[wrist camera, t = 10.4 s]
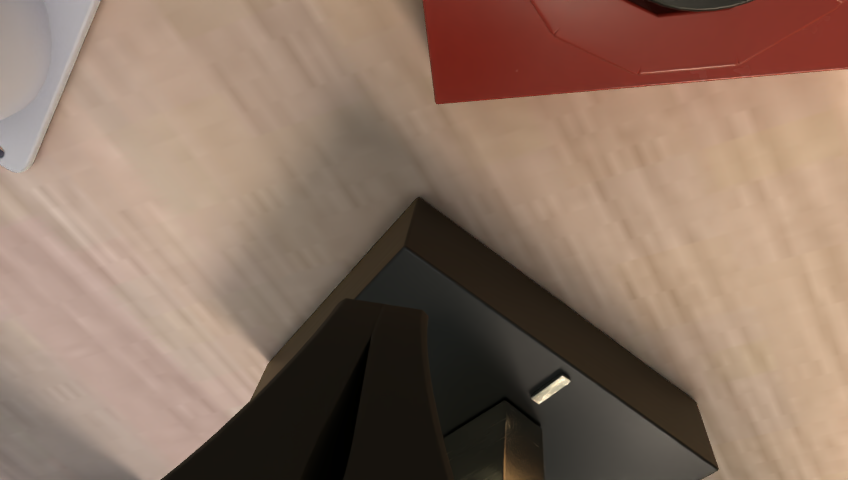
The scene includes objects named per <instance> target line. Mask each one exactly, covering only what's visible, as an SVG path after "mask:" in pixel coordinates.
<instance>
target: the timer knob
mask: <svg viewBox="0 0 848 480" xmlns="http://www.w3.org/2000/svg"><path fill="white" fill-rule="evenodd" d="M443 439H444V443H445V447H446V451H447V455H448V458H449V462H450V465H451V469H452V472H453V476H454V480H545V468H544V449H543V430H542V428H540V427H539V426H538V425H537V424H535V423H534V422H533V421H532V420H530V419H529V418H528V417H526V416H525V415H524V414H523V413H521V412H520V411H519V410H518V409H516V408H515V407H514V406H512V405H511V404H510V403H509V402H507V401H506V400H504V401H502V402H500V403H499V404H497V405H496V406H494V407H492V408H491V409H489V410H488V411H486V412H484V413H483V414H481V415H480V416H478V417H476V418H475V419H473V420H472V421H470V422H468V423H467V424H465V425H464V426H462V427H460V428H459V429H457V430H456V431H454V432H452V433H451V434H449V435H448V436H446V437H444V438H443Z"/></svg>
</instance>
